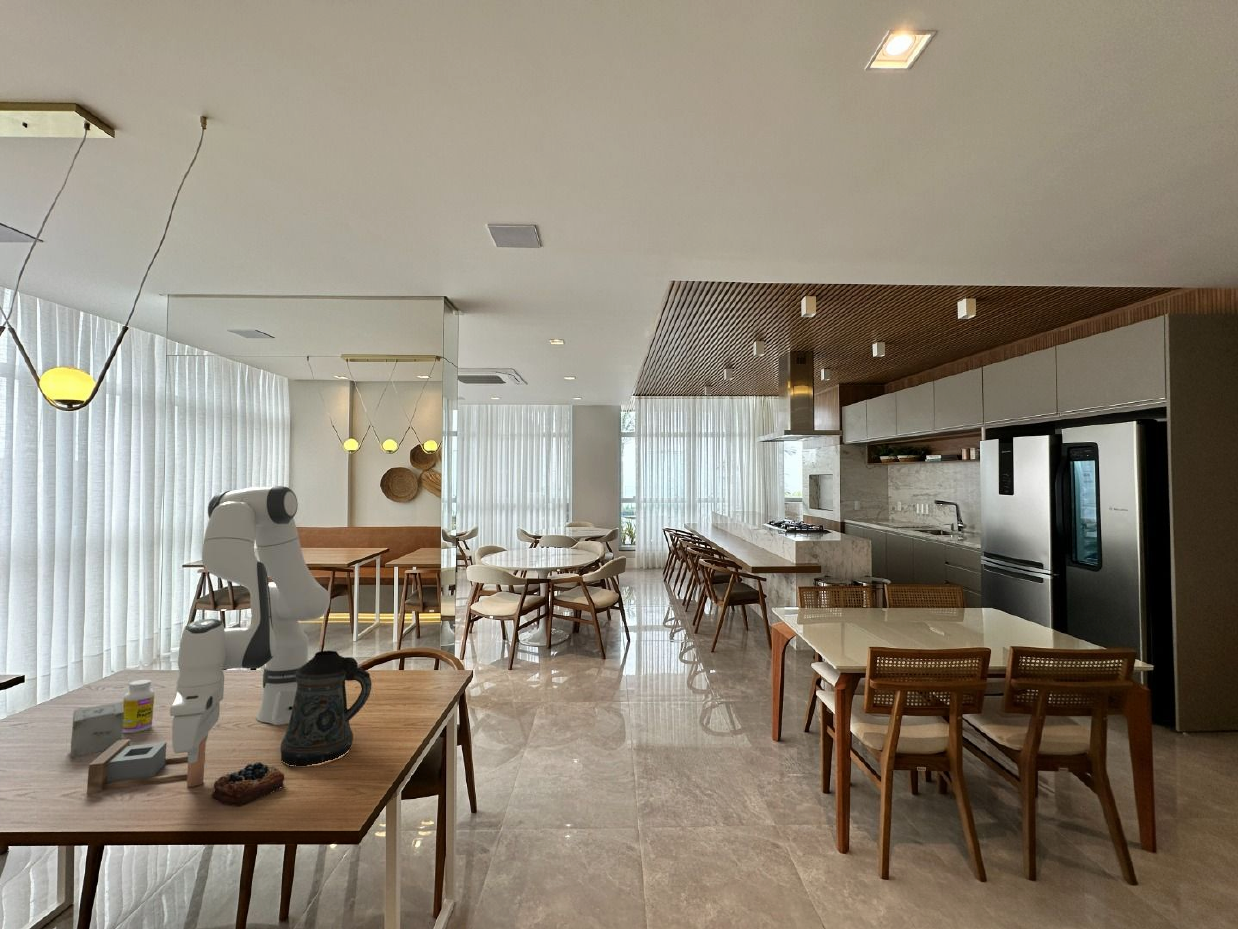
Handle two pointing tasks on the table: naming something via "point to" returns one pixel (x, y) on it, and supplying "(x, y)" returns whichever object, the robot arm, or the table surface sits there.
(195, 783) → the dowel
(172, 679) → the table surface
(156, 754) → the block
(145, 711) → the supplement bottle
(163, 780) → the rail frame
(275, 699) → the robot arm
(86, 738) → the incense holder
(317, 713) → the beer stein
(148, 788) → the table surface
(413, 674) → the table surface
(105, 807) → the table surface
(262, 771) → the pastry
